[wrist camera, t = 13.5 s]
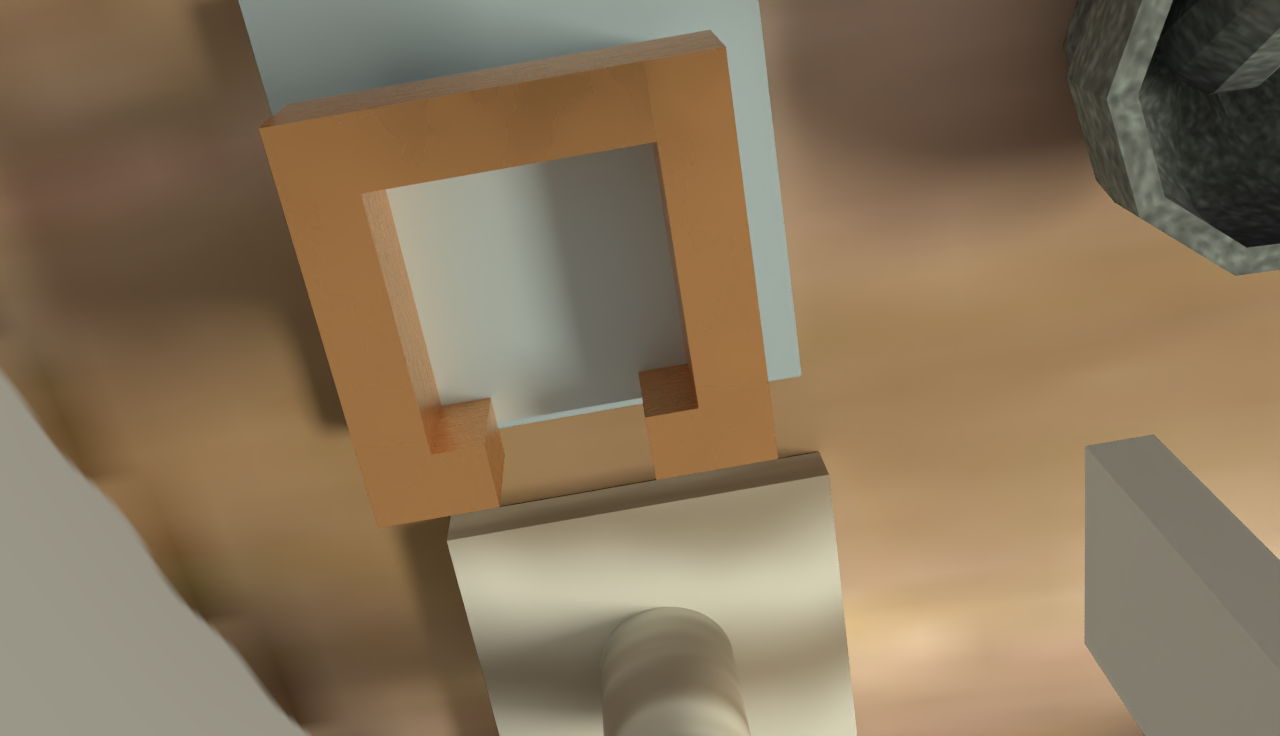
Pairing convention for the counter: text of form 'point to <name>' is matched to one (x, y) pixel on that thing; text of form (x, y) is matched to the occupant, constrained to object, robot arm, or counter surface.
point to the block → (540, 197)
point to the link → (497, 139)
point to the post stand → (663, 607)
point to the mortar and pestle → (1185, 118)
